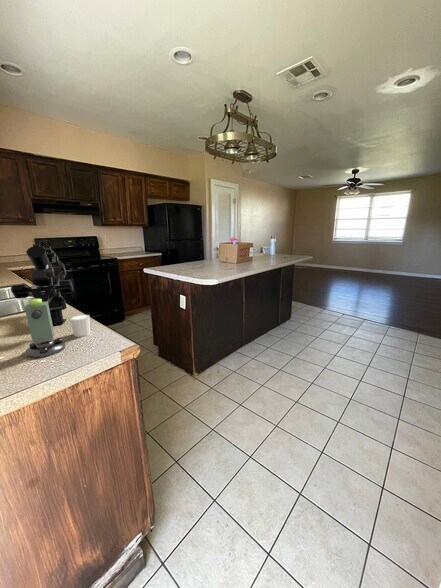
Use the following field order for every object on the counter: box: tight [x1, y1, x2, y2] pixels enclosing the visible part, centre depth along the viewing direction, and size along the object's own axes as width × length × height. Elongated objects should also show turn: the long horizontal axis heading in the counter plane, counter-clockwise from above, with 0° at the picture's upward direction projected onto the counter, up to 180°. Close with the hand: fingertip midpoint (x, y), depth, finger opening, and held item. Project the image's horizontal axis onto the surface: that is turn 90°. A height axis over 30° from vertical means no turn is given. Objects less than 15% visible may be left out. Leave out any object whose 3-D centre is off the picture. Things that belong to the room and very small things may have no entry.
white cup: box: [69, 314, 91, 338], centre depth 96 cm, size 7×7×7 cm
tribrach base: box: [25, 337, 66, 359], centre depth 84 cm, size 11×11×3 cm
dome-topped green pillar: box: [24, 298, 55, 344], centre depth 80 cm, size 6×6×15 cm
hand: (44, 307), depth 91 cm, fingers closed
